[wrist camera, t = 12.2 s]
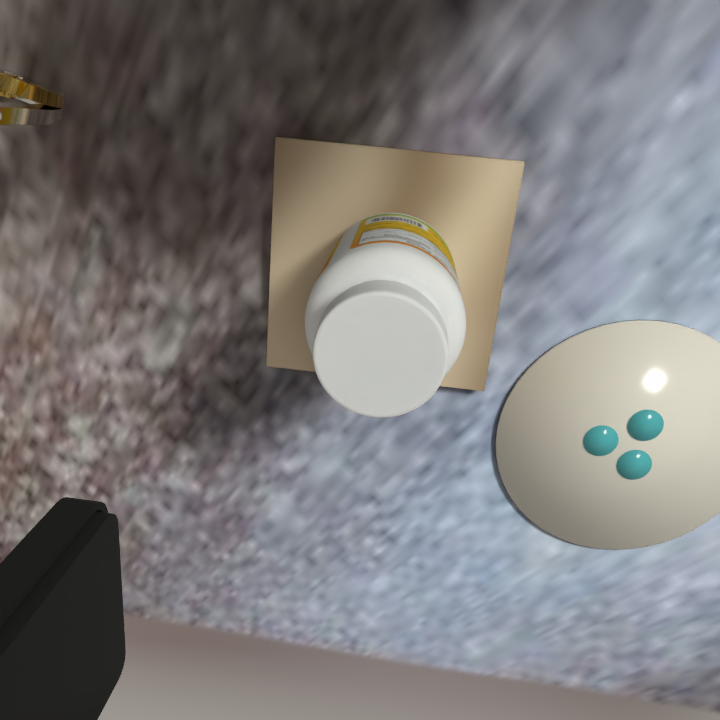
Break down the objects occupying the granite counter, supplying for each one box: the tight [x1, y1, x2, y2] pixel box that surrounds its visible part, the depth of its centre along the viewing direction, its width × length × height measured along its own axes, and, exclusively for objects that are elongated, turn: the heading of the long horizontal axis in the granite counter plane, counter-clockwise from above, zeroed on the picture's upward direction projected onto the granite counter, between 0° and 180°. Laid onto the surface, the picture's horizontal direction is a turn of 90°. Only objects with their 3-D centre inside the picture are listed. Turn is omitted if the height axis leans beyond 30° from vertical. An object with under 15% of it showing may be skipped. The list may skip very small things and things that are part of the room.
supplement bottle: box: [305, 213, 466, 418], centre depth 23 cm, size 5×5×10 cm
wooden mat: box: [266, 137, 525, 391], centre depth 28 cm, size 10×10×1 cm
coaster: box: [496, 320, 720, 550], centre depth 30 cm, size 12×12×1 cm
